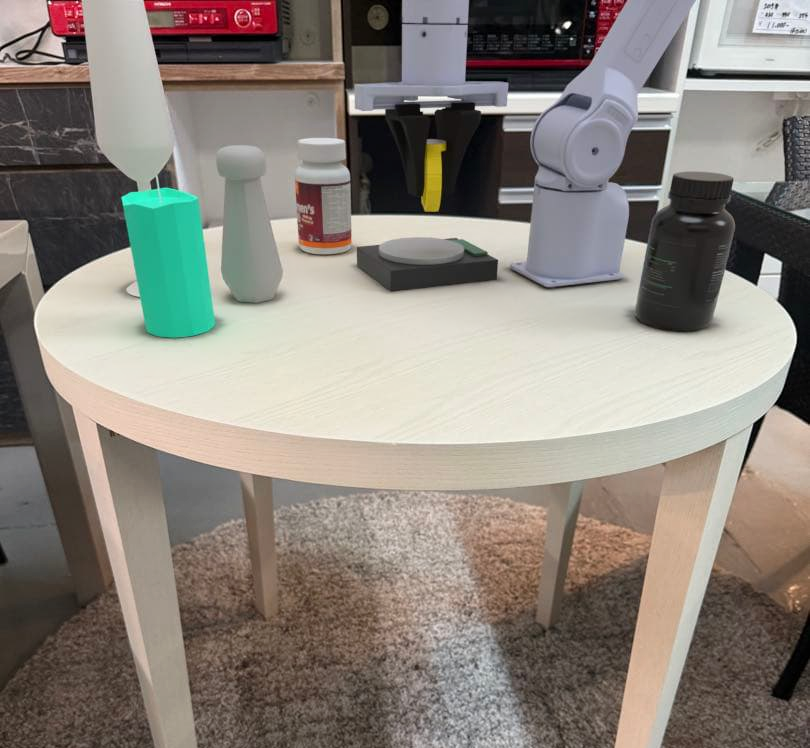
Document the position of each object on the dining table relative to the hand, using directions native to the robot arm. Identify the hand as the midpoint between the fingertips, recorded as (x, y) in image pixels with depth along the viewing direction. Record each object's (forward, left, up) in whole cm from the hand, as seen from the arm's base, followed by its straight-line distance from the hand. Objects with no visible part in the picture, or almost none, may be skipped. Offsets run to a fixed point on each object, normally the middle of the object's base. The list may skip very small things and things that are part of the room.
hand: (430, 193), depth 73 cm
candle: (+26, +5, -9) cm, 28 cm away
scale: (-1, -3, -8) cm, 9 cm away
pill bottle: (+6, -16, -9) cm, 19 cm away
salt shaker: (+18, -1, -9) cm, 20 cm away
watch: (0, 0, -2) cm, 2 cm away
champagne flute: (+26, -7, -9) cm, 28 cm away
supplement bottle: (-16, +19, -9) cm, 26 cm away
